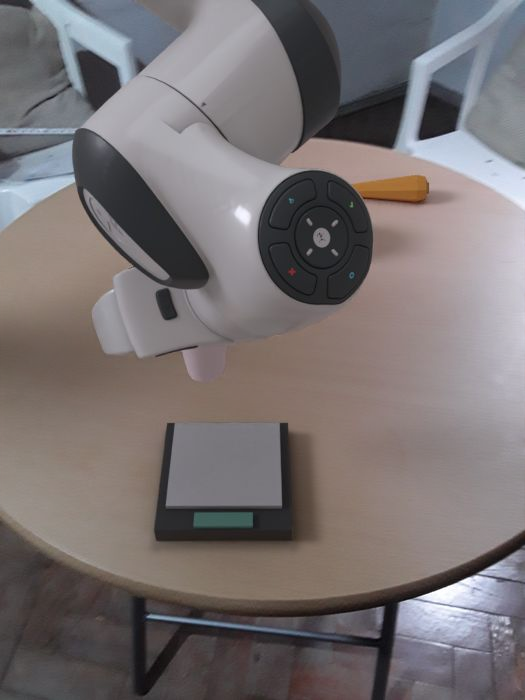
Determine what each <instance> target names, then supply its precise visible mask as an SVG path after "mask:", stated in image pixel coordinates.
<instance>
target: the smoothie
mask: <svg viewBox="0 0 525 700" xmlns="http://www.w3.org/2000/svg"><path fill="white" fill-rule="evenodd" d="M227 351H228V346H222V347H197V348H194V349H188V350H182V351H181V353H182V356H183V360H184V364H185V367H186V370H187V374H188V376H189V377H190V378H191V379H192V380H194V381H196V382H200V383H211V382H214V381H216V380H218V379H220V378H221V377H222V375H223V374H224V373H225V369H226V368H225V367H226V358H227Z"/></svg>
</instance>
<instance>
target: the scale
mask: <svg viewBox="0 0 525 700" xmlns="http://www.w3.org/2000/svg"><path fill="white" fill-rule="evenodd" d="M289 433H290V432H289V422H167V423H166V429H165V438H164V445H163V446H164V447H163V453H162V460H161V461H162V462H161V469H160V470H161V471H160V478H159V486H158V494H157V504H156V511H155V520H154V527H153V529H154V530H153V532H154V536H155V541H159V542H161V541H162V542H165V541H167V542H169V541H171V542H172V541H176V542H177V541H179V542H181V541H183V542H184V541H186V542H187V541H193V542H195V541H197V542H198V541H199V542H200V541H293V511H292V510H293V507H292V505H293V504H292V484H291V481H292V480H291V458H290V434H289Z"/></svg>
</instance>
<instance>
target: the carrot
mask: <svg viewBox="0 0 525 700" xmlns="http://www.w3.org/2000/svg"><path fill="white" fill-rule="evenodd" d="M350 184H351V185H352V186H353V187H354V188H355V189H356V190H357V191H358V193H359V194H360V195H361V197H362V198H363V199H364V198H365V199H376V200H387V201H388V200H389V201H401V202H413V203H417V202H420V201H424V200H425V199H426V198H427V196H428V194H429V193H430V182H428V179H427V178H426V176H424V175H419V174H412V175H405V176H397V177H389V178H383V179H378V180H370V181H362V182H356V183H350Z"/></svg>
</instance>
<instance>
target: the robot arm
mask: <svg viewBox="0 0 525 700" xmlns="http://www.w3.org/2000/svg"><path fill="white" fill-rule="evenodd" d="M133 2H135V3H137V4H138V5H139V6H141V8H144V10H146V11H148V12H149V13H151V14H152V15H154V16H155V17H156V18H158V19H160V20H161V21H162V22H164V23H165V24H166V25H168V26H169V27H171V28H172V29H173V30H175V31H176V32H177V33H179V35H178V37H176V38H175V39H174V40H173V41H172V42H171V43H170V44H168V46H166V48H164V49H163V51H161V52H160V53H159V54H158V55H157V56H156V57H155V58H154V59H153V60H152V61H151V62H150V63H148V65H146V66H145V67H144V68H143V69H142V70H141V71H140V72H139V73H138V74H137V75H136V76H134V77H131V78H130V79H129V80H128V81H127V82H126V83H124V85H122V86H121V88H119V89H118V90H117V91H116V92H115V93H114V94H113V95H111V96H110V97H109V98H108V99H107V100H106V101H105V102H104V103H103V104H102V105H101V106H100V107H99V108H98V109H97V110H96V111H95V112H94V113H93V114H92V115H90V117H88V119H87V120H85V122H83V124H82V125H80V127H79V128H77V129H76V130H75V131H74V135H73V140H72V146H71V148H72V149H71V159H72V169H73V176H74V181H75V185H76V191H77V195H78V197H79V201H80V203H81V205H82V208H83V209H84V211H85V213H86V215H87V216H88V218H89V220H90V221H91V223H92V225H93V226H94V227H95V228H96V230H97V231H98V232H99V233H100V234H101V236H102V237H103V238H104V239H105V240H106V241H107V243H108V244H110V246H111V247H112V248H113V249H114V250H115V251H116V252H117V253H118V254H119V255H120V256H121V257H122V258H124V259H125V260H126V262H128V263H129V264H131V265H132V266H130V267H129V268H128V269H124V270H122V271H119V272H117V273H116V274H115V275H113V277H112V280H111V281H112V285H113V288H111V289H109V290H107V291H106V292H104V294H102V295H101V296H100V297H99V298H98V300H96V303H95V304H94V306H93V307H92V310H91V319H92V322H93V326H94V329H95V332H96V335H97V337H98V340H99V344H100V346H101V348H102V350H103V352H104V353H105V354H106V355H110V356H125V355H133V354H136V357H137V359H139V360H147V359H150V358H153V357H155V358H158V357H161V356H165V355H169V354H173V353H177V352H182V350H188V349H194V348H197V347H222V346H227V347H228V346H240V345H246V344H250V343H254V342H255V343H256V342H259V341H264V340H266V339H270V338H272V337H276V336H283V335H287V334H291V333H296V332H298V331H299V332H300V331H302V330H305V329H307V328H310V327H313V326H314V325H317V324H319V323H321V322H323V321H325V320H326V319H328V318H330V317H331V316H333V315H335V314H337V313H338V312H340V310H342V309H343V308H344V307H346V306H347V305H348V304H349V303H350V302H351V301H352V300H353V299H354V298H355V297H356V295H358V293H359V291H360V290H361V288H362V286H363V285H364V283H365V281H366V279H367V277H368V274H369V273H370V269H371V265H372V261H373V256H374V245H375V236H374V235H375V233H374V225H373V221H372V217H371V213H370V210H369V208H368V206H367V204H366V201H365V200H364V198H362V197H361V195H360V194H359V193H358V191H357V190H356V189H355V188H354V187H353V186H352V185H351V184H352V183H350V182H349V181H348V180H347V179H345V178H344V177H343V176H341V175H339V174H337V173H335V172H332V171H331V170H327V169H324V168H315V167H287V166H283V165H281V164H282V163H283V162H284V161H285V160H286V159H287V158H288V157H289V156H290V155H291V154H294V153H295V152H298V150H299V149H300V148H301V147H303V146H304V145H305V144H306V143H307V142H308V141H310V139H312V138H313V137H314V136H315V135H317V133H319V131H321V130H322V129H323V128H325V127H326V126H327V125H328V124H329V123H330V122H331V121H332V120H333V119H334V118H335V116H336V115H337V114H338V110H339V108H340V102H341V94H342V63H341V54H340V49H339V45H338V41H337V38H336V35H335V32H334V30H333V27H332V26H331V24H330V23H329V21H328V19H327V18H326V17H325V15H324V13H322V11H321V10H320V9H319V8H318V7H317V5H315V4H314V3H313V2H312V1H311V0H133Z"/></svg>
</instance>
